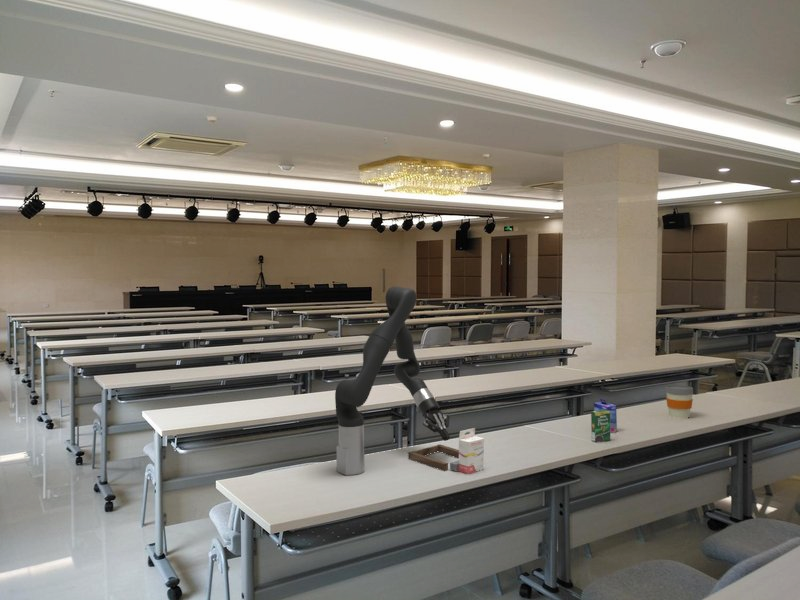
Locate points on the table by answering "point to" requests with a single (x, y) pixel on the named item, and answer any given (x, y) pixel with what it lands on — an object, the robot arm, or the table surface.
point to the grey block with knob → (454, 465)
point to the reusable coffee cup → (679, 400)
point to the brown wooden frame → (420, 457)
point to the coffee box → (600, 425)
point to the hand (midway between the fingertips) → (447, 439)
